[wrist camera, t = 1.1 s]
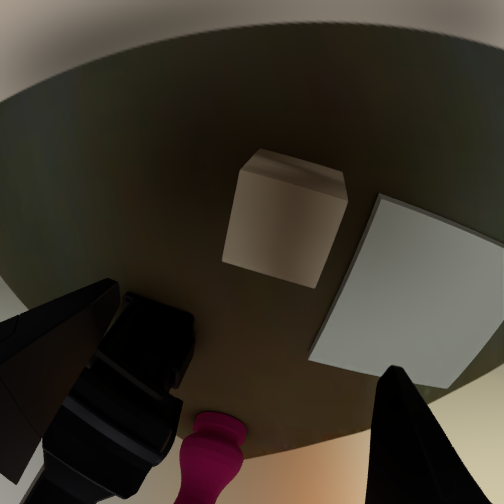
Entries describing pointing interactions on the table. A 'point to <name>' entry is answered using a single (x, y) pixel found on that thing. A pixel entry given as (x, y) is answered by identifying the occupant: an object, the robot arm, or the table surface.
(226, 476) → the pepper mill
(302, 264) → the birch cube
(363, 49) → the table surface
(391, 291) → the sage plate
